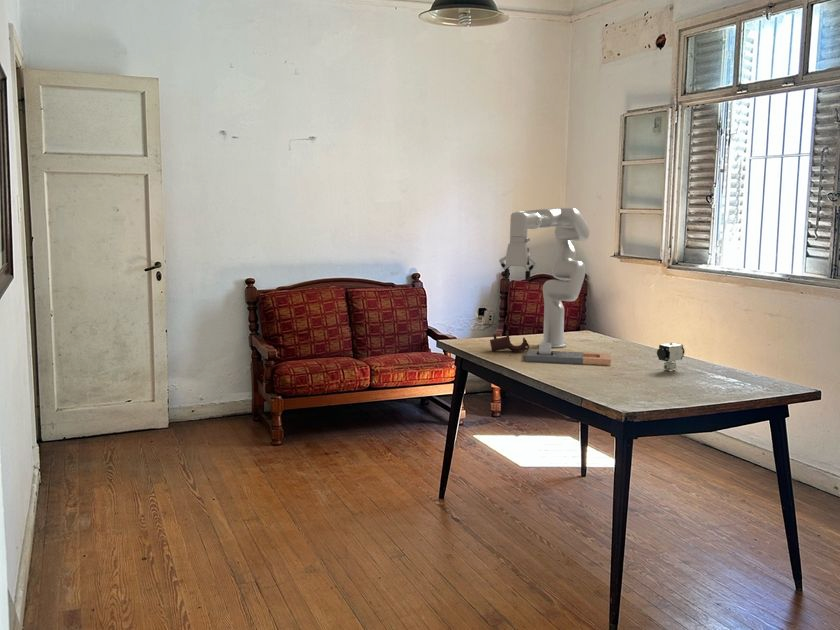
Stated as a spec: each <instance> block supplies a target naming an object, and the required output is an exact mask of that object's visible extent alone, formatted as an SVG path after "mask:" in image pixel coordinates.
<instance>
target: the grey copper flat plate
mask: <svg viewBox="0 0 840 630" xmlns="http://www.w3.org/2000/svg"><path fill="white" fill-rule="evenodd" d="M526 351H527V352H526V353H525V357H524V358H525V359H524V360H525V362H532V363H533V362H535V363H536V362H537V363H550V362H553V363H555V364H571V363H576V364H577V365H591V364H597V365H596V366H612V365H611V363H612V361H611V360H612V357H611V353H605V352H584V351H583V352H582V351H562V350H561V351H560V350H551V355H539V349H528V350H526ZM553 363H552V364H553ZM576 364H575V365H576Z"/></svg>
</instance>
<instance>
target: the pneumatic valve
mask: <svg viewBox="0 0 840 630" xmlns="http://www.w3.org/2000/svg"><path fill="white" fill-rule="evenodd" d="M684 355H685V348H684V345H683V344H681V343H678V342H677V343H676V342H672V341H670V342H669V343H662V344H659V346H658V349H656V356H657V358H658V359H657V360H659V361H663V362H664V363H663V370H664V369H665V370H673V369H677V363H676V361H681V360H683V358H684V357H685V356H684ZM665 370H664V371H665Z"/></svg>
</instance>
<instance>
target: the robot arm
mask: <svg viewBox="0 0 840 630" xmlns="http://www.w3.org/2000/svg"><path fill="white" fill-rule="evenodd" d="M509 221H510V222H509V223H510V225H509V226H510V227H509V243H507V244H508V245H507V249H506V255H505V256H504V257H502V258H500V259H499V263H500V265H501V267H502V269H503V270H504V274H503V275H504V279H505V280H508V279H510V267H521V268H522V267H524V269H525V270H526V271H525V276H524V277H525V281H529V280H530V278H531V272H532V270H533V269H534V268H535V267H536V265H537V260H535V259H533V258H532V257H531V250H530V244H529V243H528V242H530V241H531V238H530V237H529V238H528V230H535V229H536V230H537V229H539V228H545V229H546V228H552V227H555V229H554V236H555V239H556V242H557V246H558V249H557V255H556V258H555V261H554V263H553V266H552V269H551V270H552V271H551V275H552V276H553V278H555V279H548V280H546V281H545V282H544V284H543V285H542V295H543V307H544V308H543V337H542V338H543V340H542V341H541V342H544V343H551V348H565V347H567V342H565V341H564V335H565V333H564V330H565V307H564V305H563V304H564V303H563V301H564V302H575V301H576V300H578V297H579V295H580V293H581V290H582V287H583V284H584V280H585V277H586V273H587V272H586V264H585V263H584V262H583V261H580V260H575V259H576V255H577V254H576V253H577V251H576V249H575V246H574V244H573V242H585V241H587V239H589V237H590V226H589V225H588V223H587V222H586V220H585V218H584V216H583V215H582V213H581V212H580V211H579V210H578V209H577V208H575V207H551V208H541V209H533V210H519V211H514V212H512V213H511V215H510V220H509Z"/></svg>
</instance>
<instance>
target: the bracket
mask: <svg viewBox="0 0 840 630" xmlns="http://www.w3.org/2000/svg"><path fill="white" fill-rule="evenodd" d="M492 337H493V338H492V339H489V345H490V348H491V352H492V351H493V352H498V351H502V350H503V351H504V350H509V351H511V352H512V353H519V352H524V351H528V350H530V345H529V342H528V341H527V340H526V338H525V337H523V339H522V343H521V344H519V345H514V344H513V343H511V338H510V334H509V330H506V331H505V336H503V337H498V338H497V335H496V334H493V336H492Z"/></svg>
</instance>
